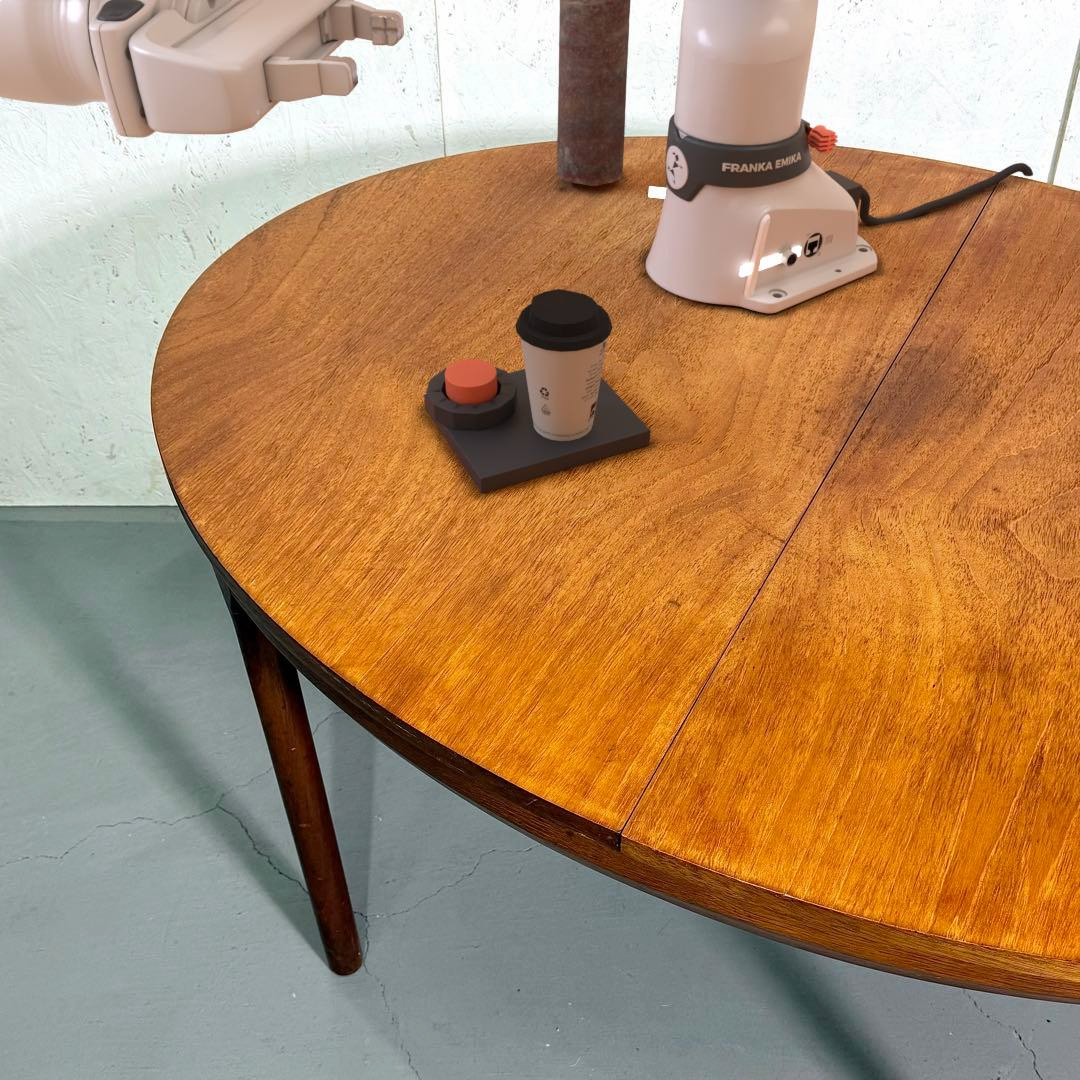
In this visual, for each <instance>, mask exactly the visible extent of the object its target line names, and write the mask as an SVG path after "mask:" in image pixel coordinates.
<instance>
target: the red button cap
mask: <svg viewBox="0 0 1080 1080" xmlns="http://www.w3.org/2000/svg"><path fill="white" fill-rule="evenodd" d="M495 367H496V366H494V364H492V363H491V362H489V361H487V360H484V359H479V358H465V359H461V360H457V361H455V362H452V363H451V364H449V365H448V367H446V368H447V369H446V368H445V369H446V371H445V385H446V394H447V396H448V398H449V399H450V400H451V401H454V402H456V403H459V404H470V405H476V404H480V403H484V402H487V401H490V400H492V399H493V398H494V397H495V396H496V394H497V371H496V368H495Z"/></svg>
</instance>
